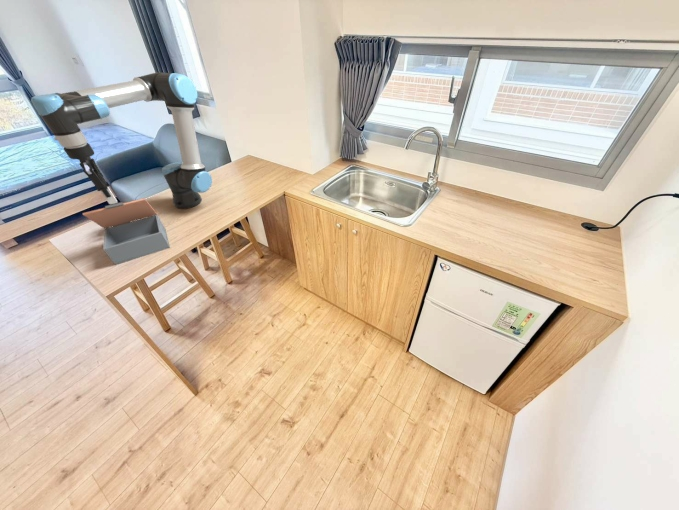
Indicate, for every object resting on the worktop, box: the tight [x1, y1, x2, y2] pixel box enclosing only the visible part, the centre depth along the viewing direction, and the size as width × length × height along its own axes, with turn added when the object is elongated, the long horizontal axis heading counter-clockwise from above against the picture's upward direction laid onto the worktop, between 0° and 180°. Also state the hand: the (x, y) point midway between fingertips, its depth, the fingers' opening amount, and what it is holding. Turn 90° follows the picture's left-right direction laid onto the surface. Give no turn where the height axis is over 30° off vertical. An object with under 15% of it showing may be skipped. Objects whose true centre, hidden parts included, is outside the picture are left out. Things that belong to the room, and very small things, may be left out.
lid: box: [82, 197, 158, 230], centre depth 118 cm, size 19×22×1 cm
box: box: [103, 214, 171, 266], centre depth 124 cm, size 18×22×9 cm
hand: (113, 202), depth 110 cm, fingers closed
